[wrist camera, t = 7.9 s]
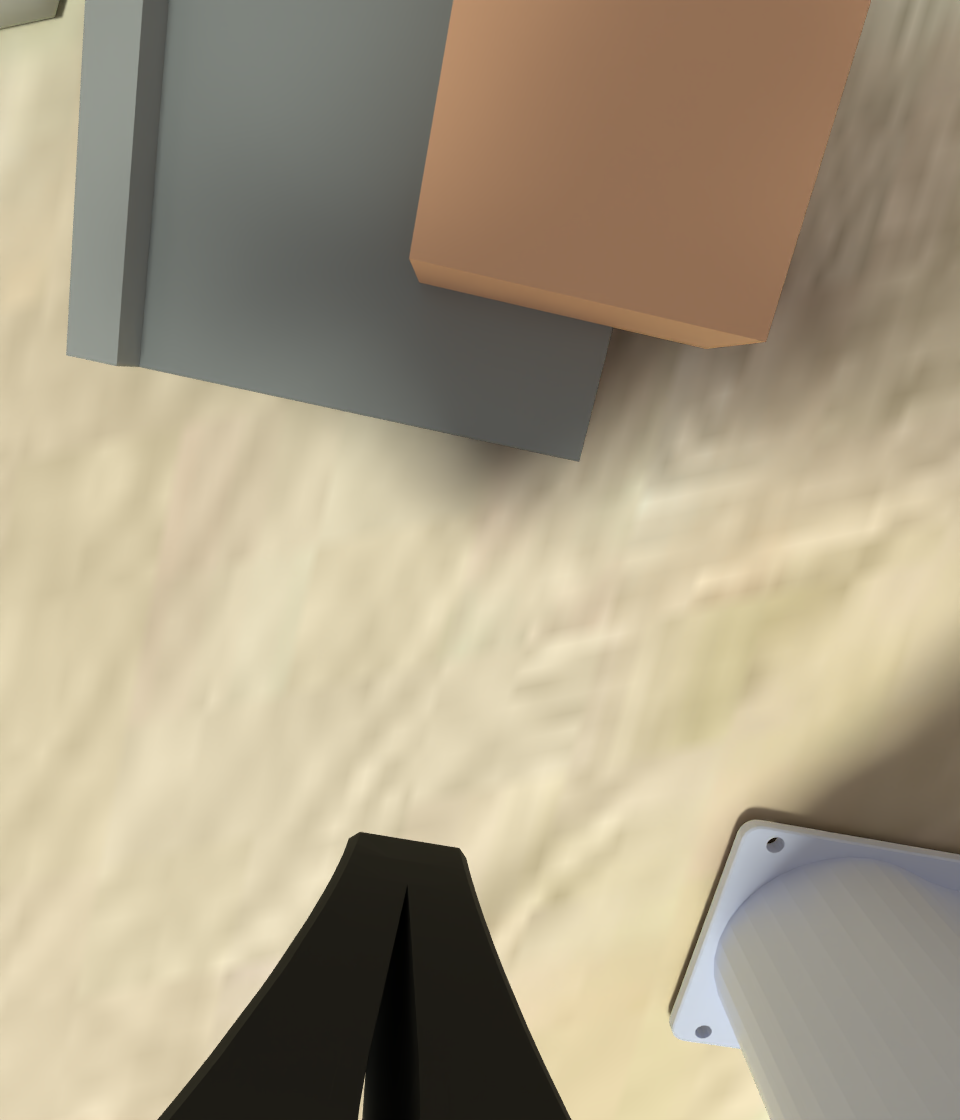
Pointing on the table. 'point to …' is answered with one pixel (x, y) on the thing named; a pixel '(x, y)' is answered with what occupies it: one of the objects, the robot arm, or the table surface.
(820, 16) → the slab
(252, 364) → the grey tray
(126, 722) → the table surface
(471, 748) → the table surface
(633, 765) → the table surface
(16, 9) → the flask
